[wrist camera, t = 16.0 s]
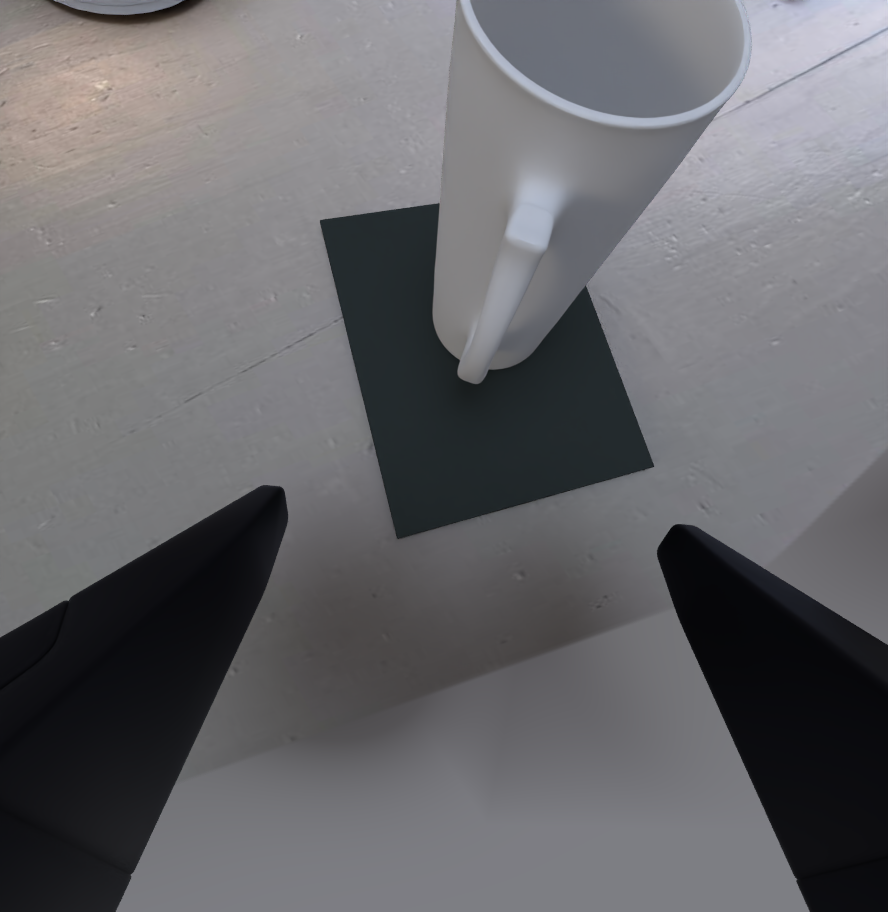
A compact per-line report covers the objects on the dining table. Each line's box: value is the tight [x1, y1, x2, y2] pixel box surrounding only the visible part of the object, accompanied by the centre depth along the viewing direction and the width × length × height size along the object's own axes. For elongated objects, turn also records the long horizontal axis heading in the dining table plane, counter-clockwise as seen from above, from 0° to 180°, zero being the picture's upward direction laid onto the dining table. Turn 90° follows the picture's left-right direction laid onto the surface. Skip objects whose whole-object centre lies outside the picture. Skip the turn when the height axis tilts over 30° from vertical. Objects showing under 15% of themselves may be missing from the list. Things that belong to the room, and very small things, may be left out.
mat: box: [320, 203, 654, 539], centre depth 19 cm, size 18×14×1 cm
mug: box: [433, 0, 752, 384], centre depth 13 cm, size 10×7×12 cm, turn 161°
